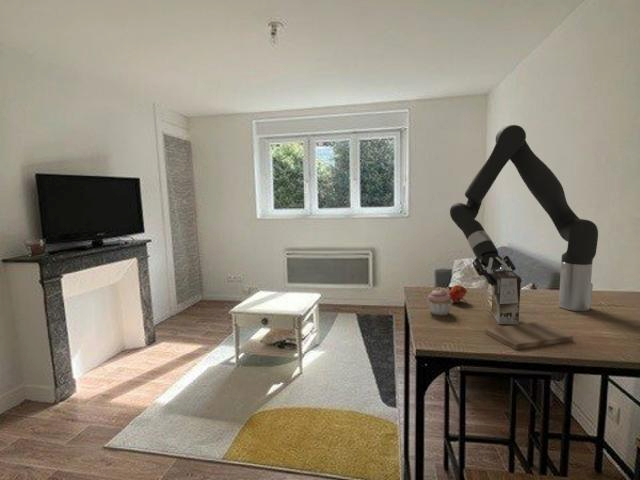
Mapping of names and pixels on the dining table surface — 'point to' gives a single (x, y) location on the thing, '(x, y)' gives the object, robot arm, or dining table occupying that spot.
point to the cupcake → (439, 302)
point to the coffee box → (506, 297)
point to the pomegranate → (456, 293)
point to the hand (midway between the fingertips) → (504, 283)
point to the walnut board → (528, 335)
